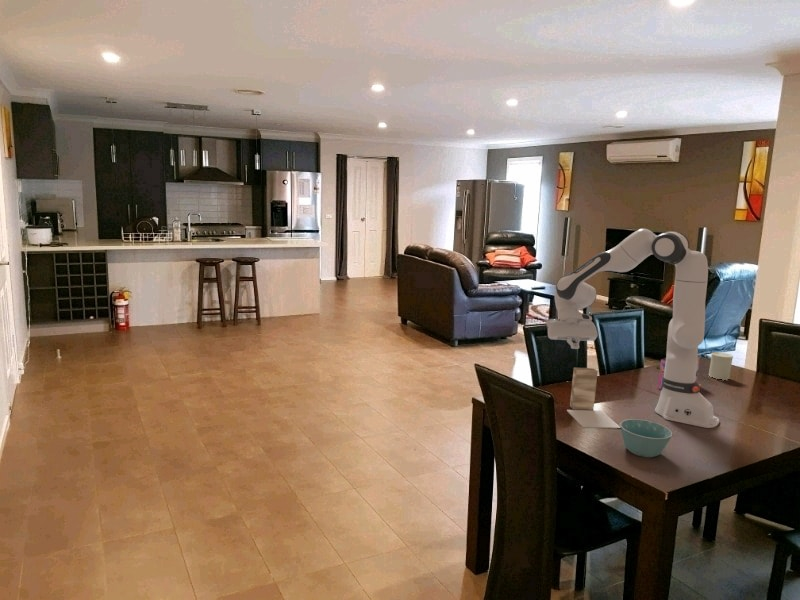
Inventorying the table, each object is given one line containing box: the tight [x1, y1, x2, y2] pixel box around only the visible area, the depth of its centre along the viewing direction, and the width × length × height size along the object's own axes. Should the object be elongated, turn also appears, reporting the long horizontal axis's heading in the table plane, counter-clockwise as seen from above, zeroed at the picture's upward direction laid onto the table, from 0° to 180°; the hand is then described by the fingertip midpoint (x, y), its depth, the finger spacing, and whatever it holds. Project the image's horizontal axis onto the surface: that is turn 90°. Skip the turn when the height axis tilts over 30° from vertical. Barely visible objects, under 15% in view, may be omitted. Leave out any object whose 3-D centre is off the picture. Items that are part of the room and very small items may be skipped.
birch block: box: [569, 367, 598, 410], centre depth 230 cm, size 4×8×16 cm, turn 94°
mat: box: [566, 409, 621, 429], centre depth 220 cm, size 17×14×1 cm
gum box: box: [657, 355, 701, 390], centre depth 266 cm, size 24×8×14 cm, turn 130°
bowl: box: [619, 418, 673, 458], centre depth 192 cm, size 16×16×8 cm
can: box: [708, 351, 734, 381], centre depth 284 cm, size 9×9×12 cm
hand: (575, 348), depth 240 cm, fingers closed
